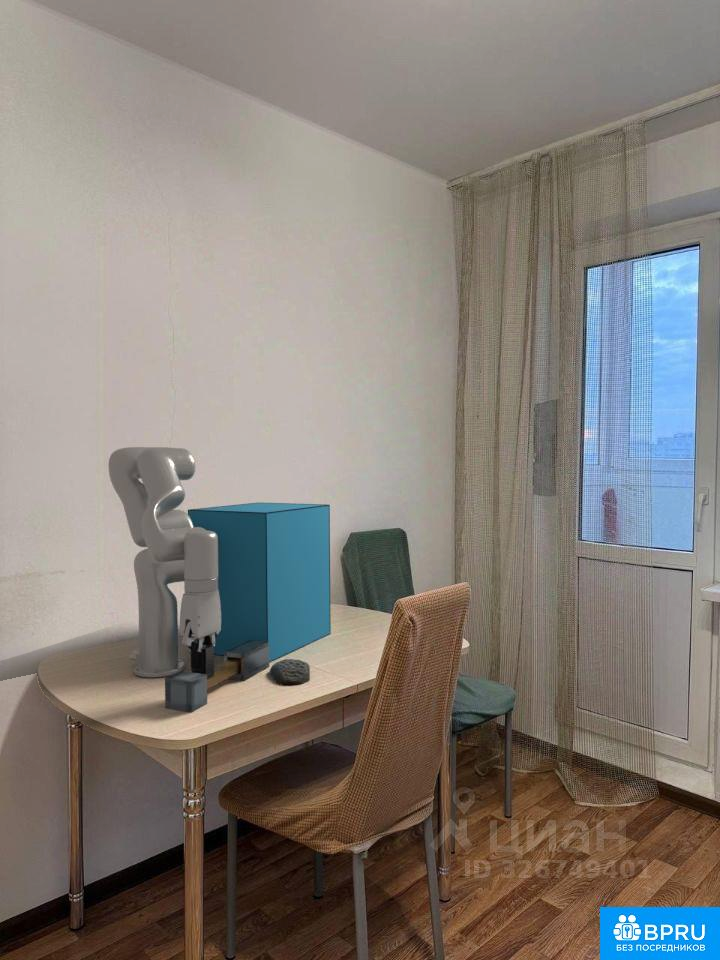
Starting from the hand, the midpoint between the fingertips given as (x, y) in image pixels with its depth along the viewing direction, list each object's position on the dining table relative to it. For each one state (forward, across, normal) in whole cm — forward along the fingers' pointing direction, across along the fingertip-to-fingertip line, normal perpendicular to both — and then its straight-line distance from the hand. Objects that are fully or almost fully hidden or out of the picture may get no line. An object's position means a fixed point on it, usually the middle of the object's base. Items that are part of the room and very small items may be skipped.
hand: (202, 665), depth 152 cm
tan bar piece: (+5, -4, 0) cm, 7 cm away
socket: (+7, +6, 0) cm, 9 cm away
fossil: (+8, -20, +11) cm, 24 cm away
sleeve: (+7, -19, 0) cm, 20 cm away
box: (+8, -45, -11) cm, 47 cm away
